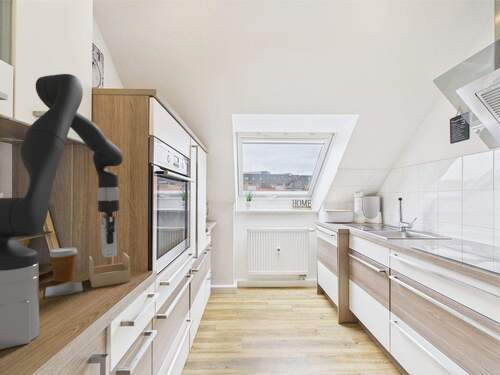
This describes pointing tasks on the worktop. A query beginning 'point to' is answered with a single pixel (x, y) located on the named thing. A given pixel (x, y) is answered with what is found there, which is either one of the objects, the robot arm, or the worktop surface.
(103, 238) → the skincare box
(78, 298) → the worktop surface
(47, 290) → the slate tile
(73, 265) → the disposable coffee cup
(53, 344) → the worktop surface
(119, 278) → the wooden cubby shelf
